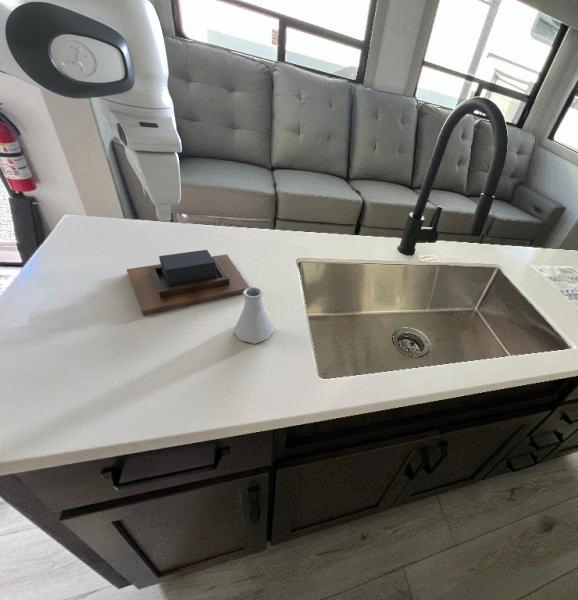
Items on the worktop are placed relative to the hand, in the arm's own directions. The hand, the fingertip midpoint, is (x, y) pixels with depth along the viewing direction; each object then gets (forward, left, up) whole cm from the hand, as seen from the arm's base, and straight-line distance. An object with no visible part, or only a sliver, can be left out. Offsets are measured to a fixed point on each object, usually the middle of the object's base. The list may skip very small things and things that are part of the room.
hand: (157, 207), depth 58 cm
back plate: (+4, +3, -19) cm, 20 cm away
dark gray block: (+4, +3, -18) cm, 19 cm away
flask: (+10, -17, -20) cm, 28 cm away
